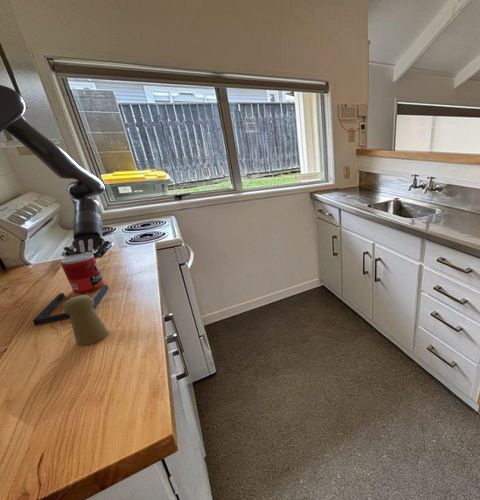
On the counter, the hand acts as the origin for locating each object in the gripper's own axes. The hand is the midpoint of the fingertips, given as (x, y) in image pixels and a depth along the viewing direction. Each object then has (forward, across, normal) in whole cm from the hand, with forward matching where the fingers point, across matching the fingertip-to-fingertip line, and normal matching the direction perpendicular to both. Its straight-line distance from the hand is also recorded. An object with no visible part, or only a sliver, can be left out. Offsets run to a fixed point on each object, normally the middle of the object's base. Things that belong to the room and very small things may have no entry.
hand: (89, 269), depth 95 cm
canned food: (+7, 0, 0) cm, 7 cm away
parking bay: (+15, 0, -8) cm, 17 cm away
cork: (+30, +9, -24) cm, 40 cm away
